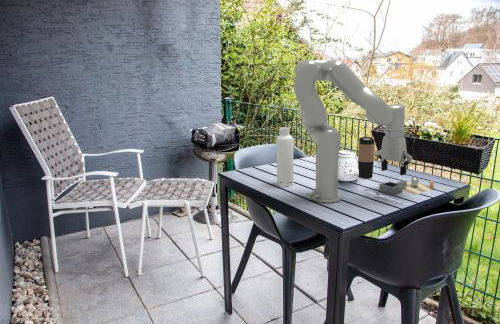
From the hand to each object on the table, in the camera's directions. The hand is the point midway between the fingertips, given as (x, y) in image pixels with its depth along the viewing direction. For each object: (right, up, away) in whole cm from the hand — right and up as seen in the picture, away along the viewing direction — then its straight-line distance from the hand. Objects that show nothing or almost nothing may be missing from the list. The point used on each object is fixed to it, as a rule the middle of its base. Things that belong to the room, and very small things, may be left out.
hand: (393, 172), depth 168 cm
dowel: (+19, -7, +4) cm, 20 cm away
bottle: (-46, -7, +21) cm, 51 cm away
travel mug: (-4, -3, +29) cm, 30 cm away
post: (+12, -7, +8) cm, 16 cm away
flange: (+2, -9, +4) cm, 10 cm away
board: (+11, -8, +7) cm, 16 cm away
